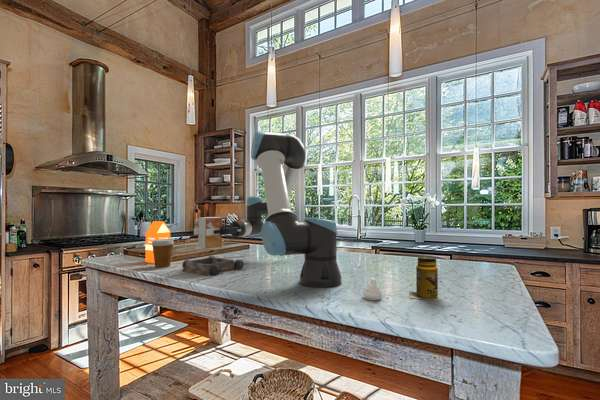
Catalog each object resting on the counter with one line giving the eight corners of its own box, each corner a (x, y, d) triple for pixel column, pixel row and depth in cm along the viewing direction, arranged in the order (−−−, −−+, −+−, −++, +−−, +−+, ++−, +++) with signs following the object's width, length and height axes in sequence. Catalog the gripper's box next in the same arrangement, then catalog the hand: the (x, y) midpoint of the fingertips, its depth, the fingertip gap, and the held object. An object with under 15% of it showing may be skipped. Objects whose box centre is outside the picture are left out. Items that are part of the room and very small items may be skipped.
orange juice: (156, 263, 147) (156, 221, 148) (145, 261, 152) (145, 221, 152) (170, 261, 154) (170, 221, 154) (159, 259, 159) (159, 220, 159)
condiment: (440, 301, 89) (440, 260, 90) (409, 298, 92) (409, 258, 92) (437, 294, 96) (437, 256, 97) (408, 292, 99) (408, 254, 99)
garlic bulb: (384, 280, 90) (366, 280, 90) (384, 300, 90) (366, 301, 90) (378, 276, 96) (361, 276, 95) (378, 295, 95) (361, 295, 95)
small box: (205, 249, 128) (205, 217, 128) (197, 247, 132) (198, 217, 132) (222, 247, 133) (222, 217, 133) (214, 245, 138) (215, 216, 138)
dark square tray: (245, 268, 136) (245, 259, 136) (211, 276, 120) (211, 266, 121) (215, 263, 147) (215, 255, 148) (180, 270, 132) (180, 260, 132)
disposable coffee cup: (168, 268, 135) (168, 241, 136) (146, 268, 135) (147, 241, 136) (177, 264, 145) (177, 239, 145) (157, 264, 145) (157, 239, 145)
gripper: (255, 237, 142) (216, 242, 123) (225, 235, 153) (185, 239, 134) (255, 221, 142) (216, 223, 123) (225, 220, 153) (185, 222, 134)
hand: (200, 232), depth 129 cm, fingers closed on small box, 7 cm apart
